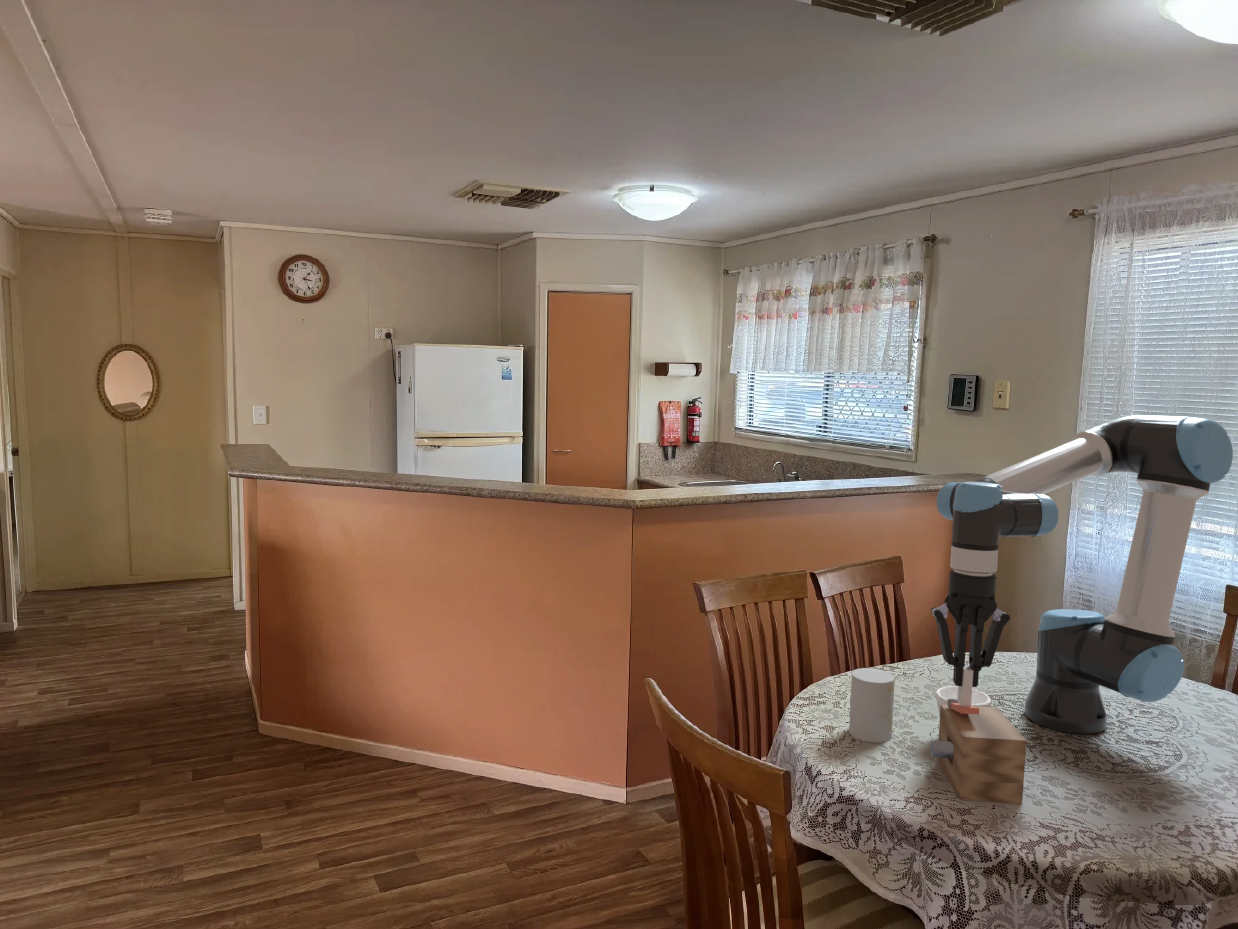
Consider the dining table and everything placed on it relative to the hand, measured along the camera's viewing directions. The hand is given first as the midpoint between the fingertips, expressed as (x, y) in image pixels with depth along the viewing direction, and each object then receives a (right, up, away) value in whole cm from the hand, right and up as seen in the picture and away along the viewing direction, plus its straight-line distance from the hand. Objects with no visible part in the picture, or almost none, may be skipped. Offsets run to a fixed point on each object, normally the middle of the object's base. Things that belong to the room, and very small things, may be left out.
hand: (964, 703), depth 146 cm
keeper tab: (0, -2, +1) cm, 2 cm away
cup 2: (+6, -12, +17) cm, 22 cm away
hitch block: (+2, -14, 0) cm, 14 cm away
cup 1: (-11, -12, +19) cm, 25 cm away
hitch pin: (+2, -11, 0) cm, 11 cm away
